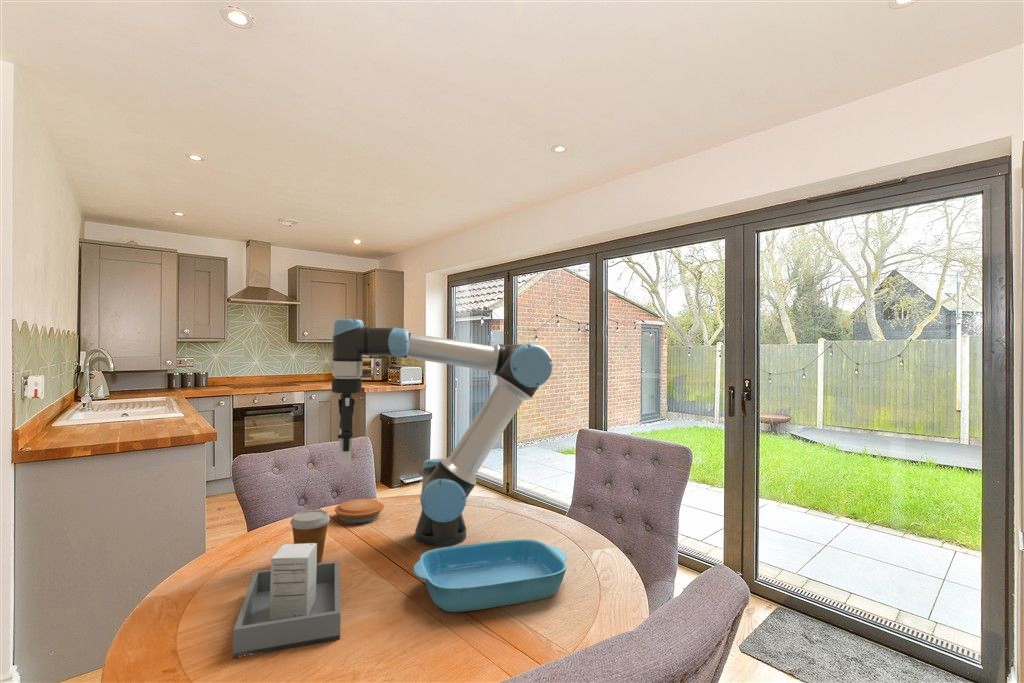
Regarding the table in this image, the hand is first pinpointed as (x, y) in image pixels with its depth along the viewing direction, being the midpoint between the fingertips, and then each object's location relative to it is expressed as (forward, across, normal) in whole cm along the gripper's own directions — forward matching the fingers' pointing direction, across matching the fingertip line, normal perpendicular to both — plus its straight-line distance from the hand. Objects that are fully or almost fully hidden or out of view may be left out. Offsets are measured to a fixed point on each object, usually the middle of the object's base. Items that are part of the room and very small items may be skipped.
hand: (344, 458), depth 126 cm
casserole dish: (+27, +26, +33) cm, 50 cm away
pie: (+27, -32, +6) cm, 42 cm away
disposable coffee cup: (+27, -2, -8) cm, 28 cm away
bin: (+27, +24, -10) cm, 37 cm away
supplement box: (+26, +24, -10) cm, 37 cm away
